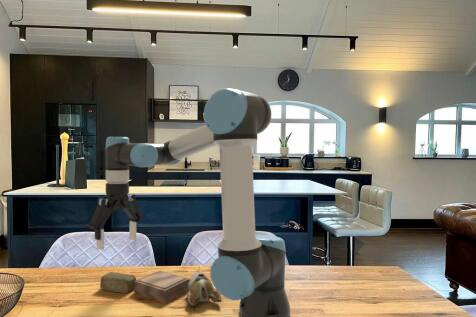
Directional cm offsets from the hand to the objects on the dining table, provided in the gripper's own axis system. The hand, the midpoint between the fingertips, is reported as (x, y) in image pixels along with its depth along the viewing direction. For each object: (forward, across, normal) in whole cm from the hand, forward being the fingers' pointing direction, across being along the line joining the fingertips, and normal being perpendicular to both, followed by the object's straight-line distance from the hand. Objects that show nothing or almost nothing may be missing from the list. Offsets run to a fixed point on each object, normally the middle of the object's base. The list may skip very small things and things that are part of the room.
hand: (117, 244), depth 122 cm
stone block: (+16, 0, 0) cm, 16 cm away
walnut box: (+16, -7, +14) cm, 22 cm away
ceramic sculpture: (+16, -10, +29) cm, 34 cm away
